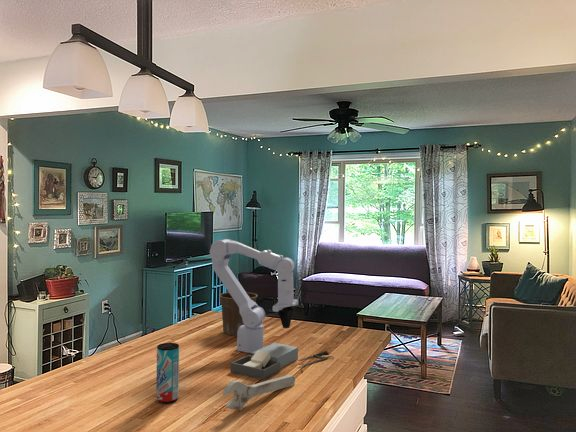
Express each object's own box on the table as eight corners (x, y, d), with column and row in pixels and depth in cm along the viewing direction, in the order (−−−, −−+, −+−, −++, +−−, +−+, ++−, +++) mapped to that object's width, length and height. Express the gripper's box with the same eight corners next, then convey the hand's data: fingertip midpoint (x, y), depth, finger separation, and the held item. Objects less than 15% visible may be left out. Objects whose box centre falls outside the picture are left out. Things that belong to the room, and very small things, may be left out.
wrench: (294, 394, 142) (225, 416, 118) (289, 392, 143) (220, 414, 119) (296, 367, 143) (228, 384, 119) (291, 365, 144) (223, 382, 120)
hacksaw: (325, 353, 174) (325, 349, 174) (346, 360, 166) (346, 356, 166) (276, 367, 158) (276, 363, 158) (296, 376, 150) (296, 371, 150)
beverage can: (154, 397, 130) (155, 343, 130) (176, 394, 133) (176, 341, 133) (157, 405, 125) (158, 350, 125) (180, 402, 127) (181, 347, 127)
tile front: (250, 360, 154) (250, 368, 154) (242, 364, 150) (242, 372, 150) (261, 363, 152) (261, 370, 152) (254, 367, 148) (254, 375, 148)
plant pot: (249, 326, 211) (250, 290, 210) (262, 335, 196) (263, 297, 195) (214, 329, 204) (214, 292, 204) (224, 339, 189) (225, 299, 189)
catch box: (230, 371, 152) (230, 362, 152) (247, 363, 160) (247, 355, 160) (263, 380, 145) (264, 370, 145) (280, 371, 153) (280, 362, 153)
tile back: (252, 365, 154) (250, 359, 153) (259, 355, 158) (257, 350, 157) (264, 367, 152) (262, 361, 151) (270, 358, 156) (269, 352, 155)
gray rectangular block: (252, 364, 160) (252, 352, 159) (274, 353, 172) (274, 342, 171) (276, 369, 154) (277, 357, 154) (297, 358, 166) (297, 347, 166)
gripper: (284, 294, 164) (284, 333, 164) (305, 288, 176) (305, 324, 176) (267, 293, 168) (268, 330, 168) (289, 287, 180) (289, 322, 180)
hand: (286, 327), depth 172 cm, fingers closed
